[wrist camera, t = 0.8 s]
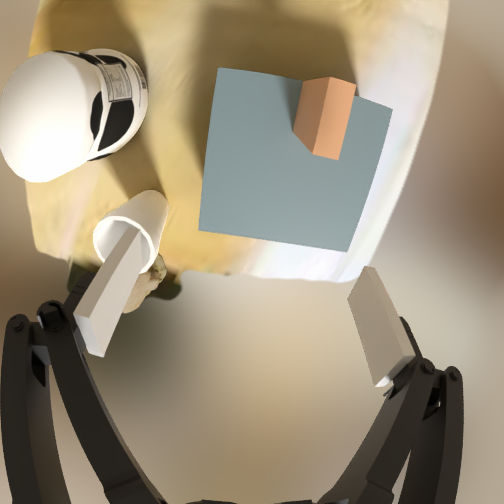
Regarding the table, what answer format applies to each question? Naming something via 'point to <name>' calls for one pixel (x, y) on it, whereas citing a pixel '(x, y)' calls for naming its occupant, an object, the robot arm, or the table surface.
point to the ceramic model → (145, 284)
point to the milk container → (69, 110)
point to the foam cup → (134, 225)
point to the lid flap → (289, 158)
